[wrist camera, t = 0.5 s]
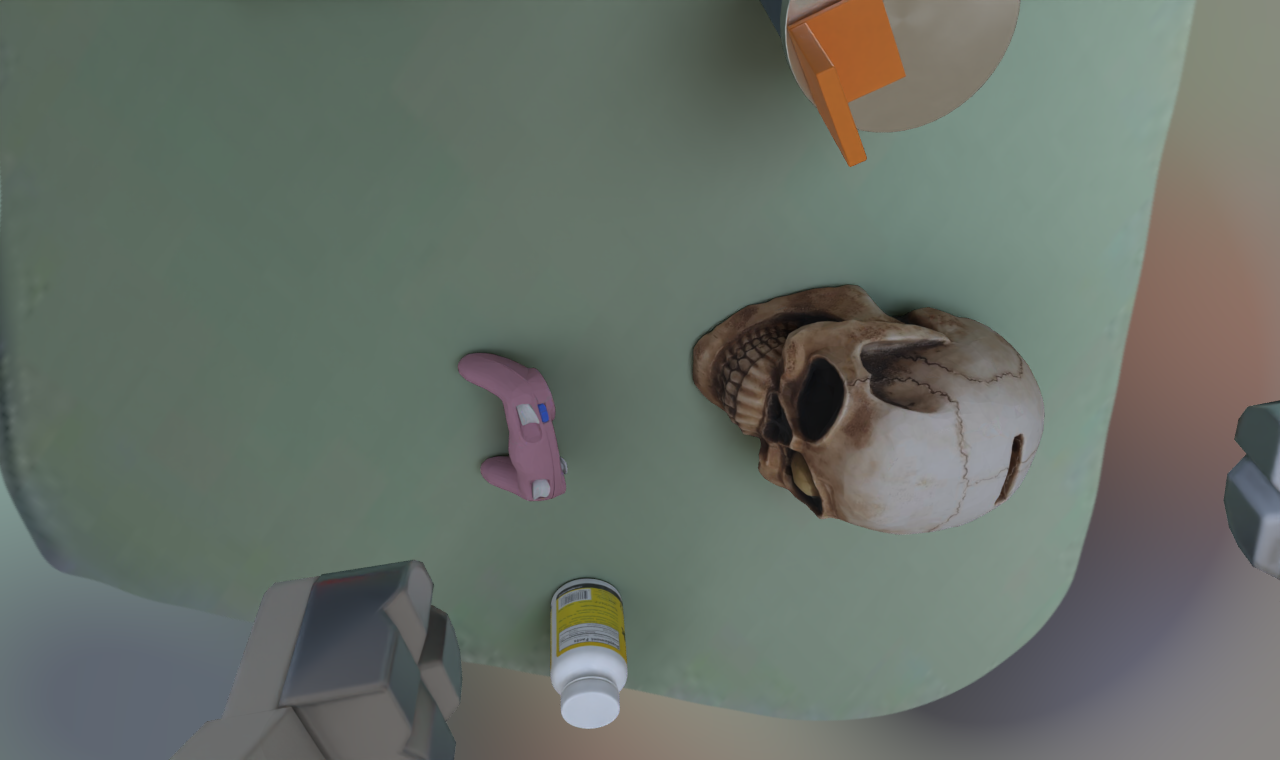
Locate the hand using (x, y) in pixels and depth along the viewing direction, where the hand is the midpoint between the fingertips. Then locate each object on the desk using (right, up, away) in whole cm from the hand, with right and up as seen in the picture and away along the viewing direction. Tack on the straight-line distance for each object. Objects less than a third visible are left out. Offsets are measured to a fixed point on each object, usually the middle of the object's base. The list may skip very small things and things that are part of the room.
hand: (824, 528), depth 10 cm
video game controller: (-10, 0, +54) cm, 55 cm away
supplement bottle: (-6, -15, +65) cm, 67 cm away
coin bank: (+11, +3, +54) cm, 55 cm away
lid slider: (+6, +14, +29) cm, 33 cm away
